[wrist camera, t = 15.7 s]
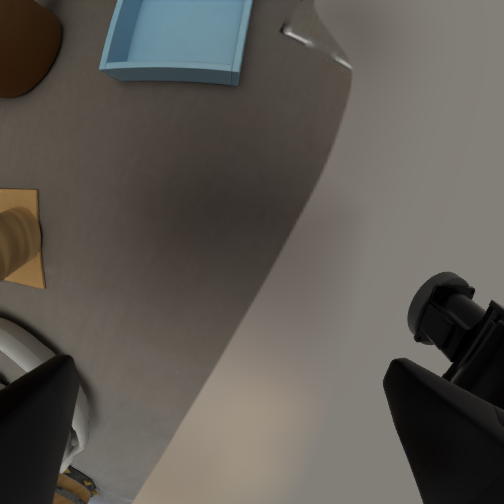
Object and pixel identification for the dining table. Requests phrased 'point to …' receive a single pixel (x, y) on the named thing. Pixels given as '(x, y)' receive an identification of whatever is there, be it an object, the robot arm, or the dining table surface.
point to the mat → (29, 200)
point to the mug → (25, 45)
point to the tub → (177, 40)
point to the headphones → (31, 356)
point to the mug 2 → (73, 488)
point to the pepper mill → (17, 239)
